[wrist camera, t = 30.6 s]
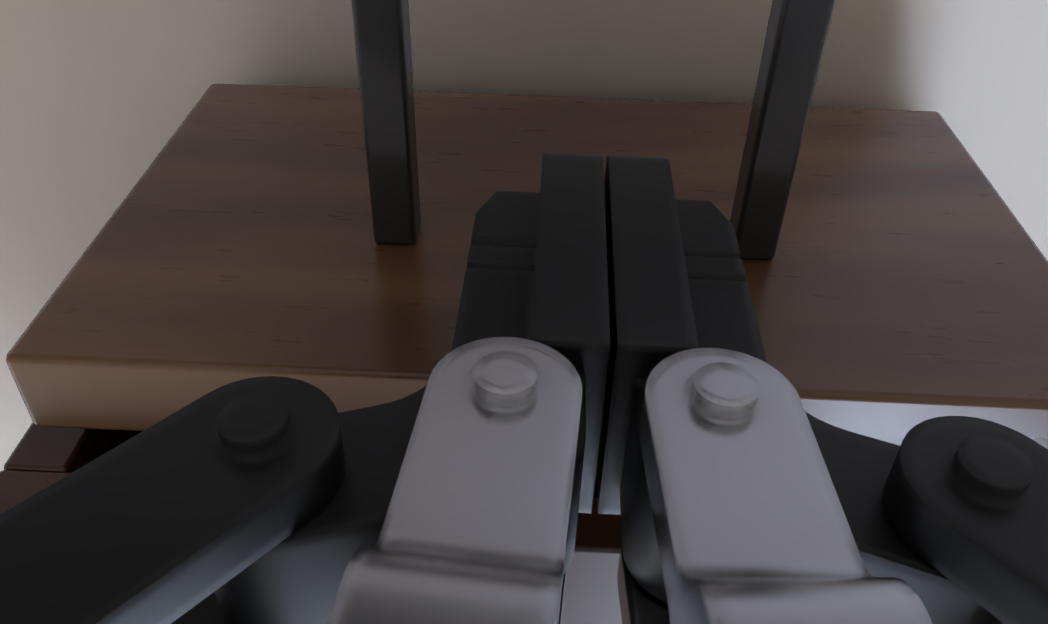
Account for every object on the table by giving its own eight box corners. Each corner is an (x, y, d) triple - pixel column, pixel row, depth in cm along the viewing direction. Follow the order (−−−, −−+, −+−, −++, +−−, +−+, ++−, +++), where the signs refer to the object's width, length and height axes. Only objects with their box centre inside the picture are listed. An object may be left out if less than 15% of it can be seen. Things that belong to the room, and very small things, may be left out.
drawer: (134, -289, 13) (-249, -200, 7) (1063, -260, 13) (1513, -140, 7) (308, 560, 26) (226, 861, 20) (781, 583, 25) (848, 895, 19)
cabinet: (213, 146, 19) (-35, 519, 11) (926, 175, 18) (1180, 578, 11) (308, 594, 28) (211, 957, 21) (775, 617, 28) (852, 994, 20)
